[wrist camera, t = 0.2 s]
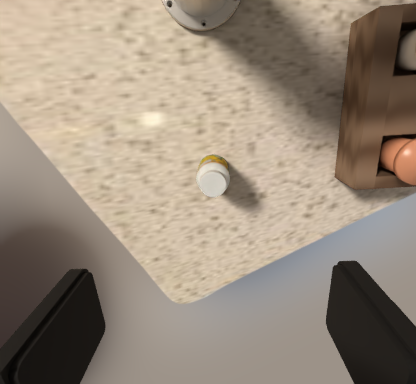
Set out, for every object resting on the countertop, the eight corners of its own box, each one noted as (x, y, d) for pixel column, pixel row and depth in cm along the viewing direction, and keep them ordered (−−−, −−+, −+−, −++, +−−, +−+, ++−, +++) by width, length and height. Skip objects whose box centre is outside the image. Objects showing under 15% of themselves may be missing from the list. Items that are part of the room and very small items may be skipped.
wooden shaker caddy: (351, 23, 37) (379, 6, 31) (434, 15, 36) (482, -4, 30) (334, 176, 45) (354, 189, 39) (402, 172, 45) (435, 185, 38)
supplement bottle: (193, 163, 45) (187, 178, 36) (218, 148, 44) (218, 159, 35) (208, 187, 47) (207, 207, 38) (233, 173, 46) (237, 190, 37)
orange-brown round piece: (375, 133, 37) (403, 139, 32) (419, 130, 37) (455, 135, 31) (368, 174, 40) (394, 186, 34) (410, 172, 39) (443, 183, 34)
